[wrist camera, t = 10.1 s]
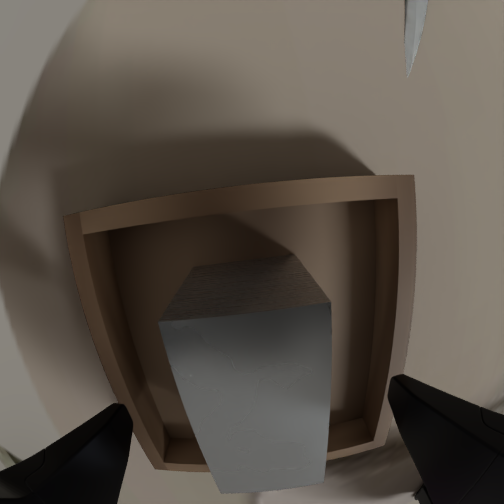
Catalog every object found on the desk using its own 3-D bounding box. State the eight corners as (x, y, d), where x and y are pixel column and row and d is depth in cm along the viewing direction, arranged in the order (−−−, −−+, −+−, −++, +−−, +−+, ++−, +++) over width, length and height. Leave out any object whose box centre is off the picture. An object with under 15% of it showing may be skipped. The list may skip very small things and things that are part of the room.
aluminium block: (303, 406, 13) (323, 482, 8) (225, 415, 13) (220, 493, 8) (294, 253, 11) (331, 301, 6) (193, 266, 11) (157, 321, 6)
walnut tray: (378, 176, 12) (414, 174, 9) (367, 412, 14) (384, 445, 11) (99, 209, 12) (63, 216, 9) (164, 434, 14) (154, 469, 11)
